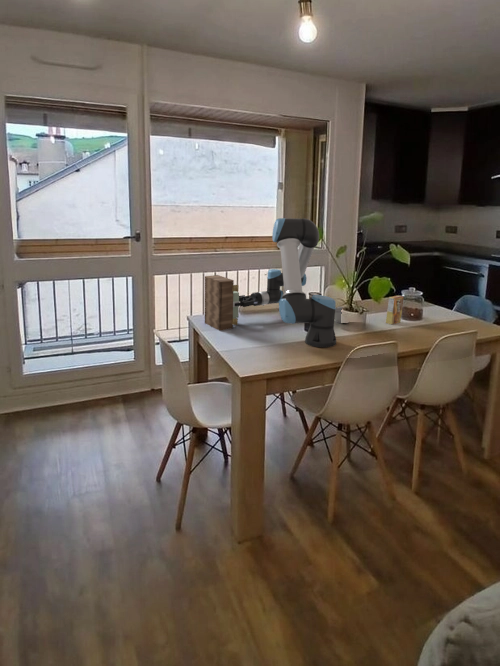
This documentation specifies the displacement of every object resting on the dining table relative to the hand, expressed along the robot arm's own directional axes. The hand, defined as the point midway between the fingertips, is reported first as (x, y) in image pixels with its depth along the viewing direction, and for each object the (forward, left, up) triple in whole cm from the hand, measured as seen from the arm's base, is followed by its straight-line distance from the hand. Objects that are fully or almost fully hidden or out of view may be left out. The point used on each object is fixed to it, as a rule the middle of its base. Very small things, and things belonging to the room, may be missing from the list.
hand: (224, 303), depth 262 cm
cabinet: (-2, +2, -12) cm, 12 cm away
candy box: (-18, -95, -12) cm, 98 cm away
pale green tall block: (+1, -5, -8) cm, 9 cm away
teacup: (-9, -67, -12) cm, 69 cm away
